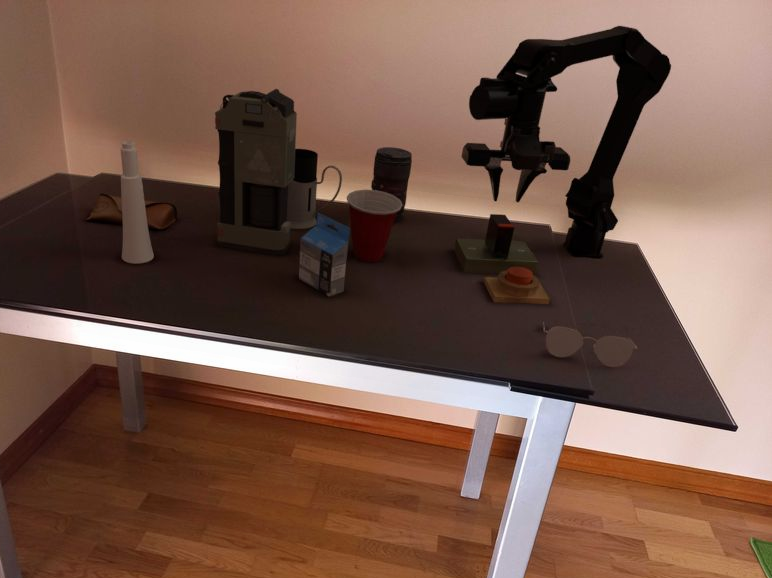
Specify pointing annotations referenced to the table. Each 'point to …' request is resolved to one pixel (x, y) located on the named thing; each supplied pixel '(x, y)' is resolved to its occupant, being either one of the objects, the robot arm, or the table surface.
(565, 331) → the sunglasses
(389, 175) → the camera lens
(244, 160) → the device
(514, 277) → the button
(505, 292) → the button block
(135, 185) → the cosmetic bottle
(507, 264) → the panel
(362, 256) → the plastic cup
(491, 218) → the selector
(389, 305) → the table surface
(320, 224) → the ink cartridge box
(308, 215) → the glass holder
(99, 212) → the sunglasses case
